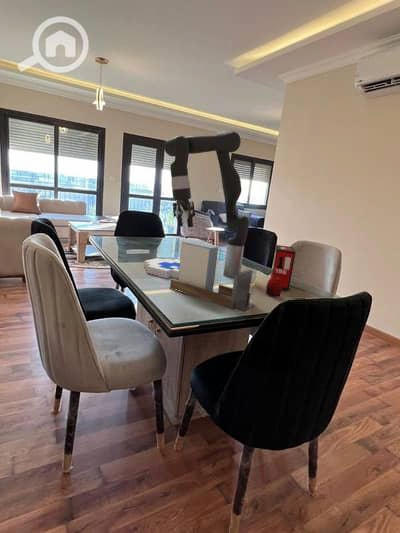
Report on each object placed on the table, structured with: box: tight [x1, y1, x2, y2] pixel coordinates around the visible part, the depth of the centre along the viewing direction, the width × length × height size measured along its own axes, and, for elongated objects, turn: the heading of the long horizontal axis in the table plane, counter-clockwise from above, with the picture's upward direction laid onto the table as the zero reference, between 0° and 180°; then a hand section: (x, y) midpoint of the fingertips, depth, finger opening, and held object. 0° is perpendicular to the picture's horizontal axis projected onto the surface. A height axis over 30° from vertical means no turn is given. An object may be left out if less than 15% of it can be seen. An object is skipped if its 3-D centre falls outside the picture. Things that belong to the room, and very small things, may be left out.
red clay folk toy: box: [265, 266, 282, 298], centre depth 146 cm, size 8×7×15 cm
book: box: [177, 240, 219, 292], centre depth 139 cm, size 6×15×21 cm, turn 56°
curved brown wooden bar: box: [169, 278, 252, 310], centre depth 137 cm, size 12×33×4 cm, turn 56°
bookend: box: [229, 269, 256, 313], centre depth 126 cm, size 13×6×14 cm, turn 146°
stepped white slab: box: [143, 257, 180, 279], centre depth 170 cm, size 28×4×28 cm
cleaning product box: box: [269, 244, 297, 292], centre depth 163 cm, size 16×9×20 cm, turn 168°
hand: (185, 226), depth 135 cm, fingers open, 8 cm apart
